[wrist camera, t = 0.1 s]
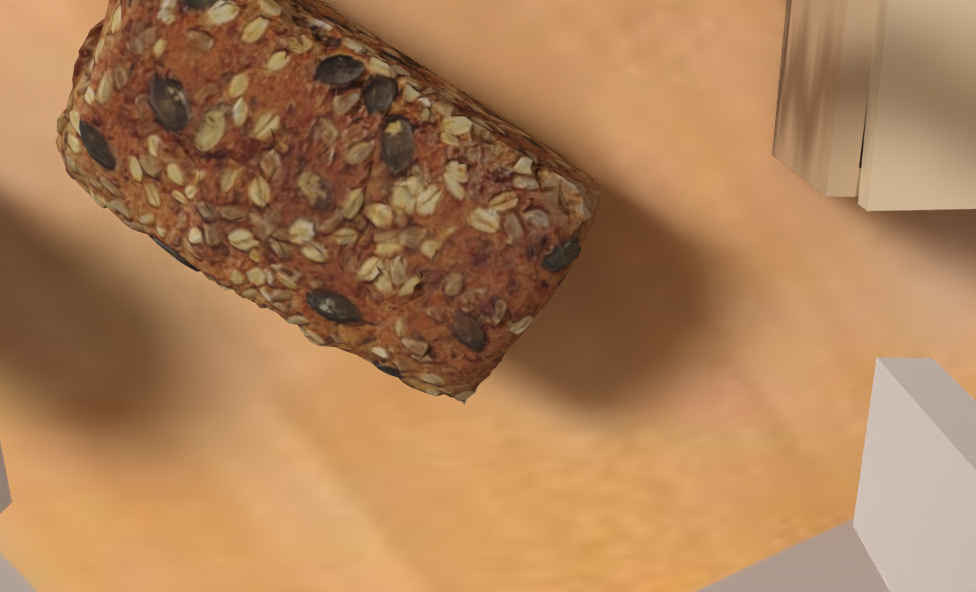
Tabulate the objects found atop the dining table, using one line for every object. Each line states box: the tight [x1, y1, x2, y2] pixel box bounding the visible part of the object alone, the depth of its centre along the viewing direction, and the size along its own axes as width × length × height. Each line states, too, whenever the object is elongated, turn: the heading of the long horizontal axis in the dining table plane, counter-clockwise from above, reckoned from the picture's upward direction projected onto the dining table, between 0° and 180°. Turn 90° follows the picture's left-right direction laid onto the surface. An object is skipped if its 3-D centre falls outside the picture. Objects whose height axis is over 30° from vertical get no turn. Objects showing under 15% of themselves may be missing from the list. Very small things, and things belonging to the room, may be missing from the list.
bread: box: [56, 0, 602, 404], centre depth 36 cm, size 19×11×10 cm, turn 58°
